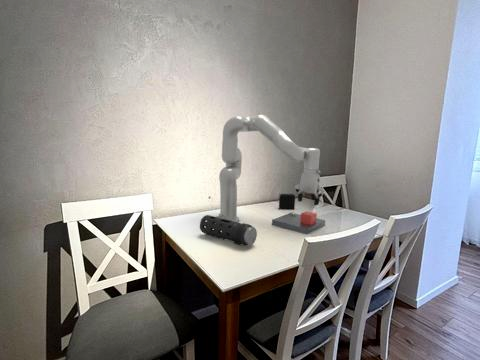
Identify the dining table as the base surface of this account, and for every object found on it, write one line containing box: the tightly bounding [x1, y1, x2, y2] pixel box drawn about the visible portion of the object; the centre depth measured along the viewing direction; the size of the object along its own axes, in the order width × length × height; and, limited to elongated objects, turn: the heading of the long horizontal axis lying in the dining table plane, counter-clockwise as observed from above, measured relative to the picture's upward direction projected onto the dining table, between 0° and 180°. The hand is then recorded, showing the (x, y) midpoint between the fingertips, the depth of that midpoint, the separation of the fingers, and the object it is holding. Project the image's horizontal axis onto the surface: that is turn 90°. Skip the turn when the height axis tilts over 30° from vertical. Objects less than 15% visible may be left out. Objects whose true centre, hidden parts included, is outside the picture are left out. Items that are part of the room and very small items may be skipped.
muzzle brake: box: [199, 214, 258, 247], centre depth 137 cm, size 10×28×10 cm, turn 53°
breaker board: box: [271, 212, 326, 235], centre depth 162 cm, size 20×22×4 cm
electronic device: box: [278, 193, 296, 211], centre depth 196 cm, size 4×10×10 cm, turn 89°
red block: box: [300, 210, 318, 225], centre depth 158 cm, size 6×6×5 cm
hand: (308, 203), depth 157 cm, fingers open, 9 cm apart
